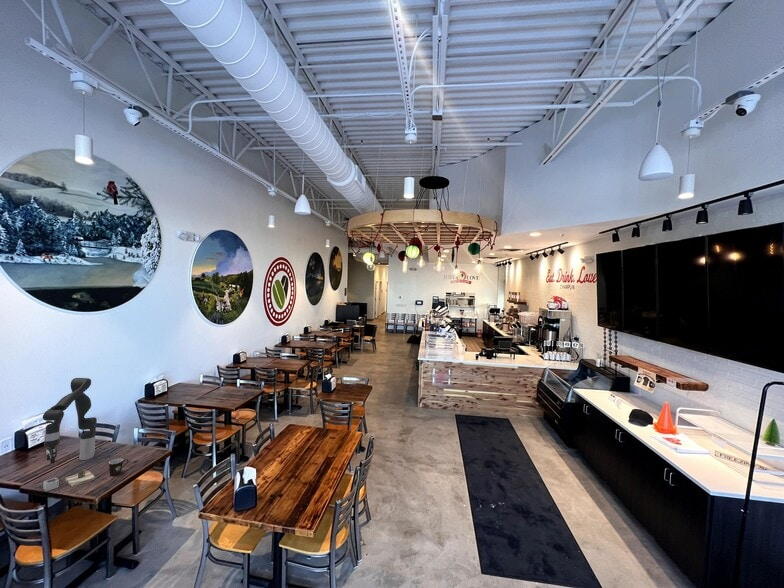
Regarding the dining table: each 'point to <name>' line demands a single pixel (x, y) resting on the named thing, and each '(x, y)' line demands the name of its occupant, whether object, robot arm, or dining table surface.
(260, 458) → the dining table surface
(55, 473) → the dining table surface
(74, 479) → the post plate
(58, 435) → the robot arm
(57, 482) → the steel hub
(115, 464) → the coffee mug
